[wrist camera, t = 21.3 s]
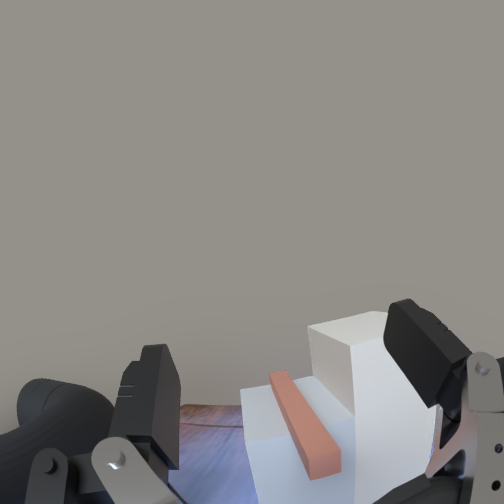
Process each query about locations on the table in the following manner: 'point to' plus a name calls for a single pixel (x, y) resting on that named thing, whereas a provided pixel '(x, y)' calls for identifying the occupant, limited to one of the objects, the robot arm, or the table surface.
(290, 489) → the riser
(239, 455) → the table surface
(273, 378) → the rod
